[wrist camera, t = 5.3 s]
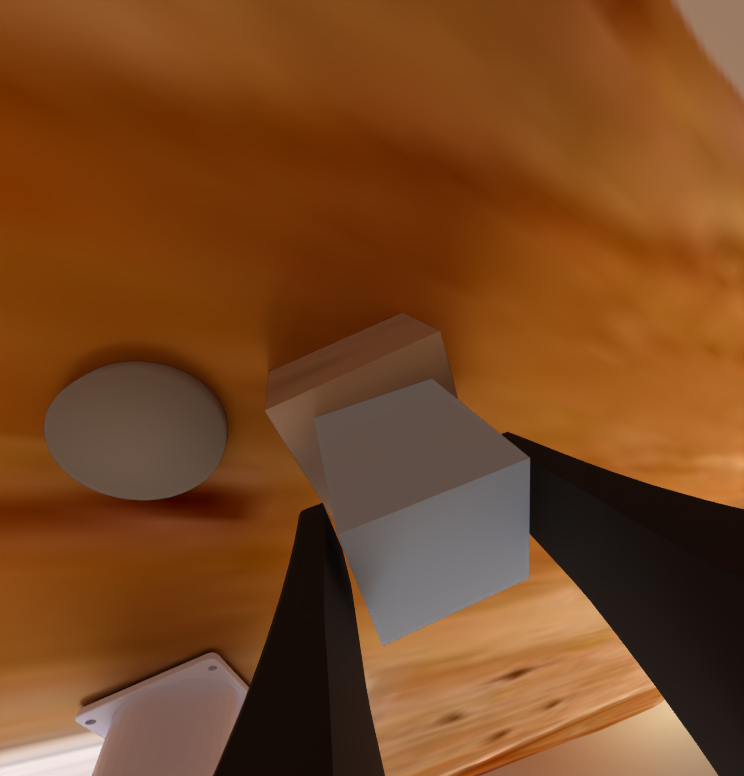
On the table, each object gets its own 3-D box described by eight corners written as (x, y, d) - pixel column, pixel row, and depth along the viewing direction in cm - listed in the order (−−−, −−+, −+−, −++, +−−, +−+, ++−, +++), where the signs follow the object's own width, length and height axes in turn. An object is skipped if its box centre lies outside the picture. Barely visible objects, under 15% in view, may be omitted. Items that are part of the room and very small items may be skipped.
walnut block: (434, 420, 17) (474, 463, 14) (327, 472, 17) (340, 531, 13) (400, 311, 14) (440, 330, 11) (268, 369, 14) (264, 410, 10)
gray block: (445, 470, 13) (528, 578, 9) (346, 509, 13) (382, 646, 8) (431, 378, 11) (530, 457, 7) (313, 418, 11) (337, 534, 6)
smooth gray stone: (250, 455, 15) (247, 470, 14) (119, 499, 14) (107, 519, 13) (190, 339, 12) (182, 348, 11) (26, 386, 11) (0, 399, 10)
